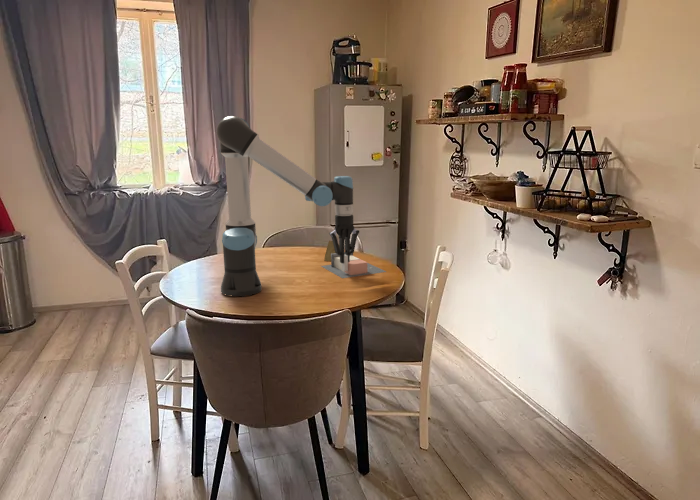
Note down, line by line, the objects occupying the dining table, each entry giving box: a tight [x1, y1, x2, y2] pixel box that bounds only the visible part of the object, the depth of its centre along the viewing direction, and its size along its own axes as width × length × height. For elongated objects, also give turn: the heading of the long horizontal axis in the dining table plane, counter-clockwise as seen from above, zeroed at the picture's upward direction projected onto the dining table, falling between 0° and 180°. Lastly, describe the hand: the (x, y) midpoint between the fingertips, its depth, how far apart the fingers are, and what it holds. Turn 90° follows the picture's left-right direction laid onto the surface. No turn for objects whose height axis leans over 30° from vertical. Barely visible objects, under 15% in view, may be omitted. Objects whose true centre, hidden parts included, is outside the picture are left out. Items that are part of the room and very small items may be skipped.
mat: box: [320, 262, 387, 279], centre depth 218 cm, size 21×22×1 cm
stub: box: [345, 259, 368, 275], centre depth 211 cm, size 8×6×4 cm
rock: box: [324, 240, 335, 262], centre depth 233 cm, size 11×9×10 cm
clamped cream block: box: [330, 253, 361, 271], centre depth 220 cm, size 11×12×6 cm
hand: (345, 270), depth 209 cm, fingers closed
